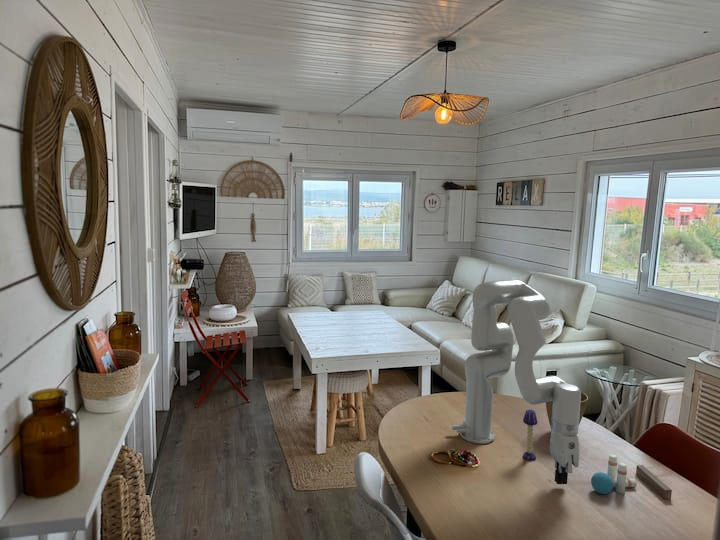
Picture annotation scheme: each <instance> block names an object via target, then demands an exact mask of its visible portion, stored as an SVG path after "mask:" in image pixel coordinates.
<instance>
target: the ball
mask: <svg viewBox="0 0 720 540" xmlns="http://www.w3.org/2000/svg"><path fill="white" fill-rule="evenodd" d="M590 484H591V488H592V489H593V490H594V491H595V492H597V493H598V494H602V495H608V494H610V493H611V492H612V491H613V489H614V487H613V481H612V479H611V477H610V476H609V475H607V472H606V473H605V472H602V471H600V472H596V473H594V474H593V475H592V477H591V479H590Z"/></svg>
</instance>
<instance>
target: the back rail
mask: <svg viewBox="0 0 720 540" xmlns="http://www.w3.org/2000/svg"><path fill="white" fill-rule="evenodd" d="M635 469H636V470H635V475H636V476H637V477H639V478H640V479H641V480H642V481H643V482H644V483H645V484H646V485H647V486H649V487H650V488H651V489H652V490H653V491H654V492H655V493H656V494H658V495H659V496H660V497H661V498H662V499H663V500H668V501H669V500H672V494H673V492H672V491H673V490H672V489H671V487H669V486H668V485H667V484H666V483H664V482H663V481H662V480H661V479H659V478H658V477H657V475H655V474H654V473H653V472H651V471H650V470H649V469H648V468H647V467H646V466H644V465H643V464H641V465H640V464H639V465H637V464H636V468H635Z"/></svg>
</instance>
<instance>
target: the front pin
mask: <svg viewBox="0 0 720 540" xmlns="http://www.w3.org/2000/svg"><path fill="white" fill-rule="evenodd" d="M612 481H613V488H616V482H617V478H616V479H612ZM636 487H637V481H636V479H635V478H630V477H629V478H627V477H626V484H625V488H636Z"/></svg>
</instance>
